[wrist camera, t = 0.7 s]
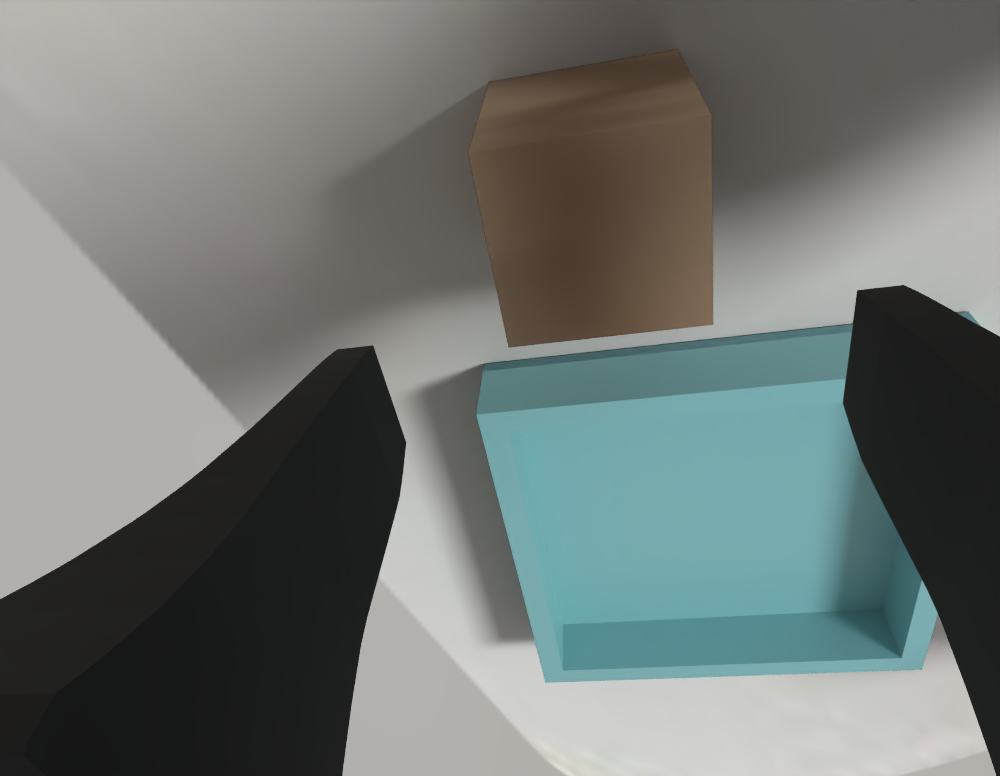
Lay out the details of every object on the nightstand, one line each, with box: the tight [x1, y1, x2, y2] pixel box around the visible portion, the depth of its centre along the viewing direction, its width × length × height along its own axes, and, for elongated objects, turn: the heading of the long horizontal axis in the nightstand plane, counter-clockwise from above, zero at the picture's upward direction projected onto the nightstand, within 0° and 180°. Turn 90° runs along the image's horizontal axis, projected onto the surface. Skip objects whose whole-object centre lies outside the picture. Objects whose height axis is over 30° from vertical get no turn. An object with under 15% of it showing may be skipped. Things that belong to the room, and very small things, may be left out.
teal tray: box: [476, 312, 980, 683], centre depth 25 cm, size 14×14×2 cm
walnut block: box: [468, 49, 713, 347], centre depth 17 cm, size 4×4×5 cm
